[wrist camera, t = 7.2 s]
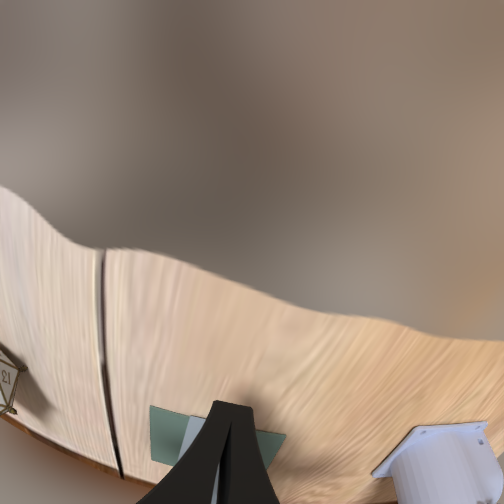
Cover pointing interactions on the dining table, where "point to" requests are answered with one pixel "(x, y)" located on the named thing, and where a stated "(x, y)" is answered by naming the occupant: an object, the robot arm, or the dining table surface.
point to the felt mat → (173, 431)
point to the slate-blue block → (190, 434)
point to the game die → (8, 383)
